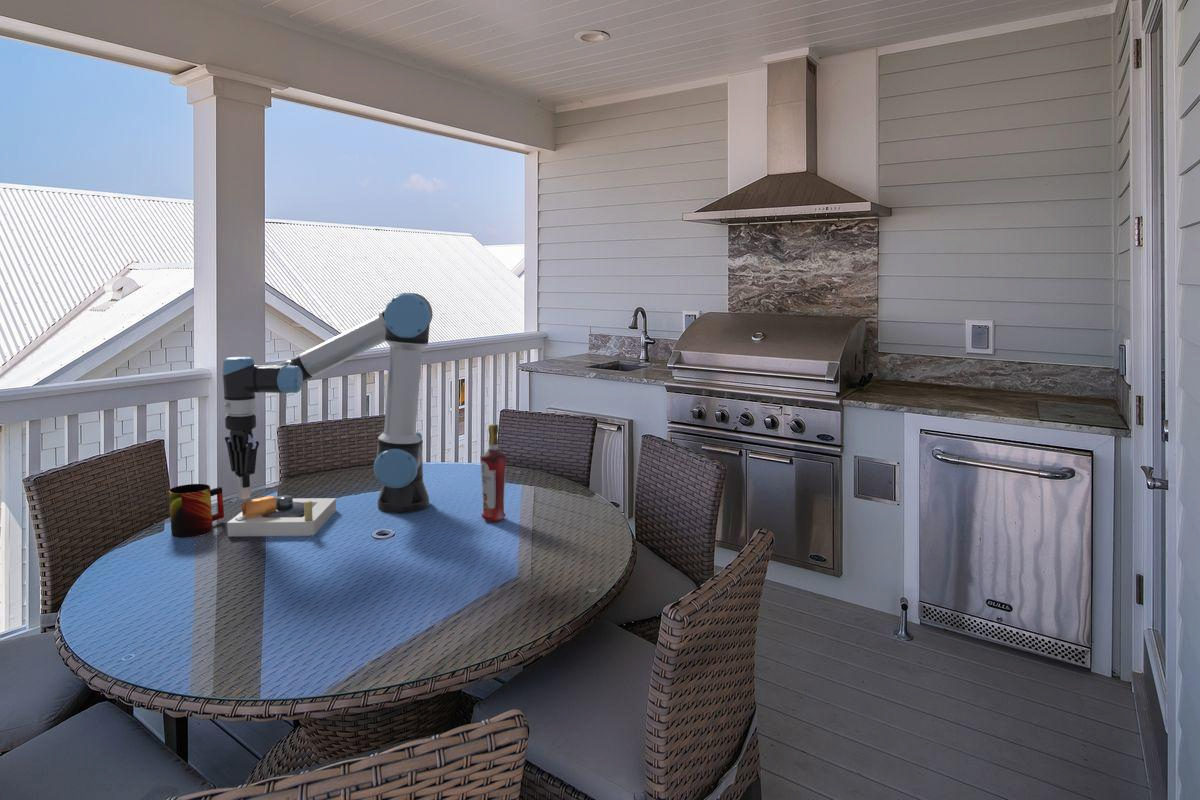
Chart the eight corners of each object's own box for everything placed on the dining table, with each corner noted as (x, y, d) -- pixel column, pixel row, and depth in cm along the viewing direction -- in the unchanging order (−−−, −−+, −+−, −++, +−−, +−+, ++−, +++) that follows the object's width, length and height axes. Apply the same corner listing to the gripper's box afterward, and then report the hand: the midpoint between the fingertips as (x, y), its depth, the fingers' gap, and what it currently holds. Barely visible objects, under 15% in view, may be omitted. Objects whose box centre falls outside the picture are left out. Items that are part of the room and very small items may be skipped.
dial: (295, 505, 209) (294, 486, 208) (316, 514, 202) (315, 494, 201) (235, 519, 196) (233, 498, 195) (255, 529, 189) (254, 507, 188)
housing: (336, 510, 213) (335, 481, 212) (313, 535, 191) (312, 503, 190) (259, 511, 211) (258, 482, 210) (228, 536, 189) (226, 504, 188)
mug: (225, 521, 202) (222, 479, 200) (203, 537, 188) (200, 493, 187) (188, 521, 201) (186, 480, 199) (164, 538, 187) (161, 493, 185)
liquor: (475, 519, 207) (474, 424, 203) (495, 514, 213) (495, 421, 208) (491, 525, 202) (491, 428, 198) (511, 520, 208) (511, 425, 203)
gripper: (213, 412, 195) (218, 496, 198) (240, 418, 188) (244, 505, 191) (240, 409, 201) (244, 491, 204) (267, 415, 194) (270, 499, 197)
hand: (244, 498), depth 198 cm, fingers closed
